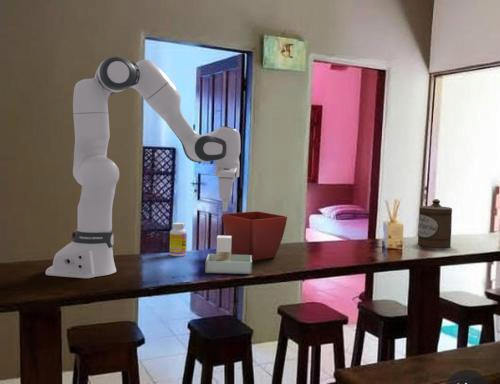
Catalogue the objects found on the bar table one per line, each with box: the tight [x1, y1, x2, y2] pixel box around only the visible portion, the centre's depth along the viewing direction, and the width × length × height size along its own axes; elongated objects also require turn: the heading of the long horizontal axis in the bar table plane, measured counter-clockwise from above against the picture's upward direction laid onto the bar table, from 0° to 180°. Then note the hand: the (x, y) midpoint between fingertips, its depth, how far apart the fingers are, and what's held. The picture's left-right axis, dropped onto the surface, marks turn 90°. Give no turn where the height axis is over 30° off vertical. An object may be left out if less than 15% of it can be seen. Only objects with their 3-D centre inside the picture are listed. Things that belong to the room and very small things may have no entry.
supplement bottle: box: [169, 222, 188, 257], centre depth 209 cm, size 7×7×13 cm
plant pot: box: [222, 210, 288, 262], centre depth 210 cm, size 19×19×17 cm
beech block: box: [215, 250, 232, 262], centre depth 188 cm, size 5×5×6 cm
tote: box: [204, 253, 253, 275], centre depth 188 cm, size 16×13×4 cm
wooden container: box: [417, 198, 453, 249], centre depth 251 cm, size 15×15×22 cm
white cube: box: [216, 234, 232, 252], centre depth 187 cm, size 5×5×5 cm
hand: (225, 209), depth 193 cm, fingers open, 8 cm apart
